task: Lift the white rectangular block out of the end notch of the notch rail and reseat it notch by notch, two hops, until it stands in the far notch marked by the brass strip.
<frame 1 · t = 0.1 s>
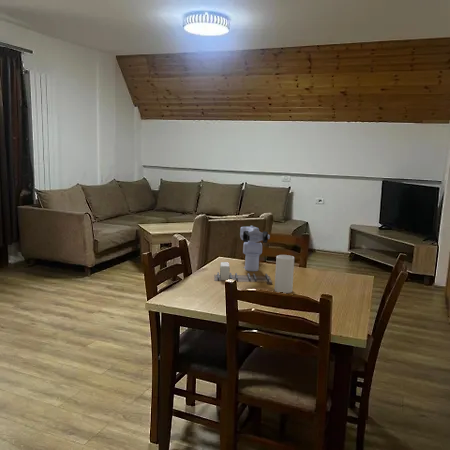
hand: (256, 238, 220), 22 cm above the table, tool horizontal, fingers open, 7 cm apart
white rectangular block: (224, 277, 225), point 1 cm above the table, touching notch rail
notch rail: (242, 280, 225), on the table
cup: (283, 290, 212), on the table
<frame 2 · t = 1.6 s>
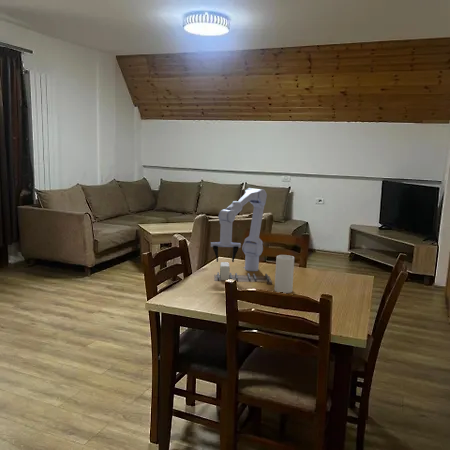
hand: (225, 261, 223), 9 cm above the table, tool pointing down, fingers open, 7 cm apart
nothing on the table moved.
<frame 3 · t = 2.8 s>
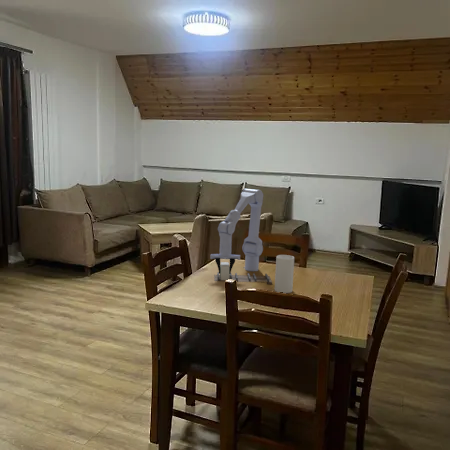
hand: (224, 273, 224), 3 cm above the table, tool pointing down, fingers closed on white rectangular block, 4 cm apart
white rectangular block: (224, 277, 225), point 1 cm above the table, touching gripper, notch rail
everything else where it was.
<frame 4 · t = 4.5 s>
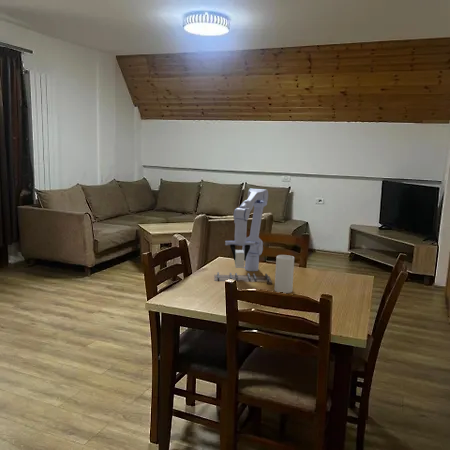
hand: (239, 259, 224), 10 cm above the table, tool pointing down, fingers closed on white rectangular block, 4 cm apart
white rectangular block: (239, 265, 224), point 7 cm above the table, touching gripper
everything else where it was.
when the fingers open (5 cm above the table, at t = 6.2 s): white rectangular block stays where it is, resting on notch rail.
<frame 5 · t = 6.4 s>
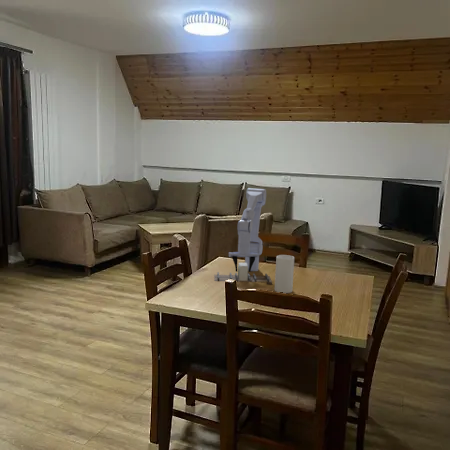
hand: (242, 271, 224), 5 cm above the table, tool pointing down, fingers open, 6 cm apart
white rectangular block: (242, 278, 225), point 1 cm above the table, touching notch rail
everything else where it was.
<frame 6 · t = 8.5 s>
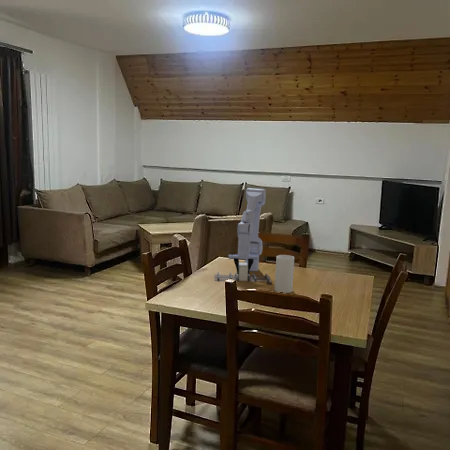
hand: (242, 273, 225), 3 cm above the table, tool pointing down, fingers closed on white rectangular block, 4 cm apart
white rectangular block: (242, 278, 225), point 1 cm above the table, touching gripper, notch rail
everything else where it was.
when the fingers open (5 cm above the table, at t = 11.8 s): white rectangular block stays where it is, resting on notch rail.
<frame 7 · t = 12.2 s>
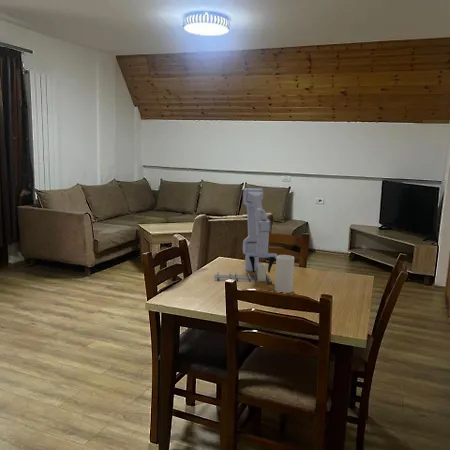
hand: (261, 271, 225), 5 cm above the table, tool pointing down, fingers open, 7 cm apart
white rectangular block: (260, 278, 225), point 1 cm above the table, touching notch rail
everything else where it was.
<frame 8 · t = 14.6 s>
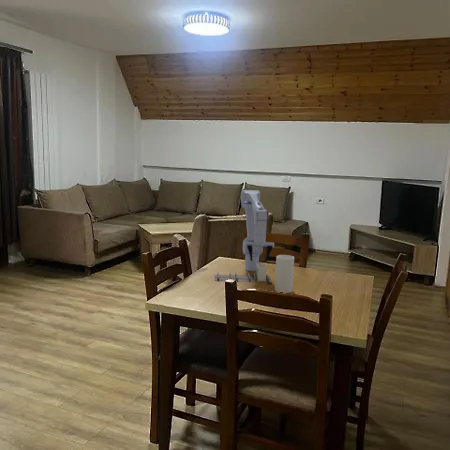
hand: (258, 260, 227), 9 cm above the table, tool pointing down, fingers open, 7 cm apart
nothing on the table moved.
at the end: white rectangular block 0.0 cm from the target spot, point 1.0 cm above the table; white rectangular block tilted 0°; the gripper is holding nothing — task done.
